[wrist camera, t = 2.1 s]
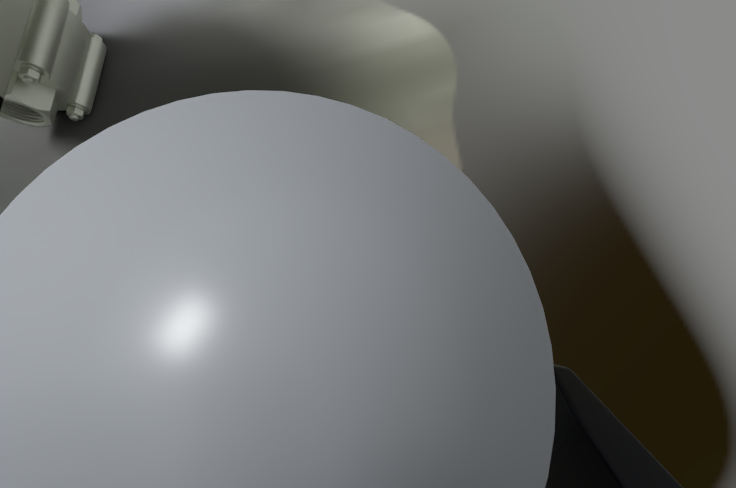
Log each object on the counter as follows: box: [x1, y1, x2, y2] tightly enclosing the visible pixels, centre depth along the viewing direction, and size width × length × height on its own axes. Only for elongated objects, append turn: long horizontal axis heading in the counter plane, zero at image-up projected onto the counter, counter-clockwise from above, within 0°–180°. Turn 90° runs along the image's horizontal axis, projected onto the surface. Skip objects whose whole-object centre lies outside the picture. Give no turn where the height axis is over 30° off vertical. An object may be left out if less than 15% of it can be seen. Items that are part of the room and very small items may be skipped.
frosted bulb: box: [0, 90, 556, 488], centre depth 9 cm, size 5×5×13 cm
